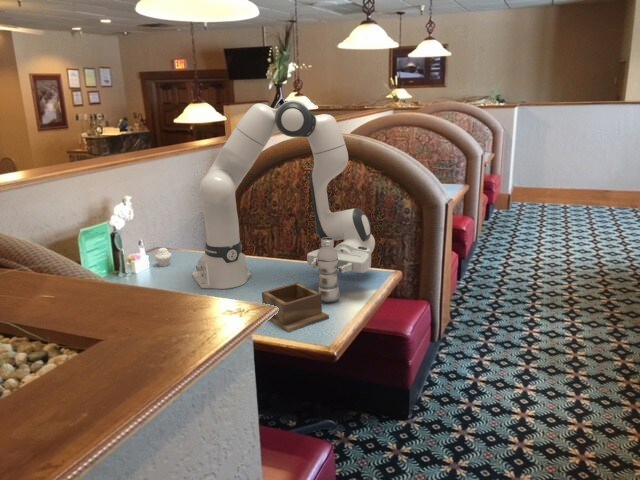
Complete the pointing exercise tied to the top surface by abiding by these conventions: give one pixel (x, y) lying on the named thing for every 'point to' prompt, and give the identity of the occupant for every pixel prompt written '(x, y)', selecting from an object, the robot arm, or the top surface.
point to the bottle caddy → (295, 306)
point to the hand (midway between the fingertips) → (326, 268)
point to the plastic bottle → (328, 271)
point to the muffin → (163, 257)
